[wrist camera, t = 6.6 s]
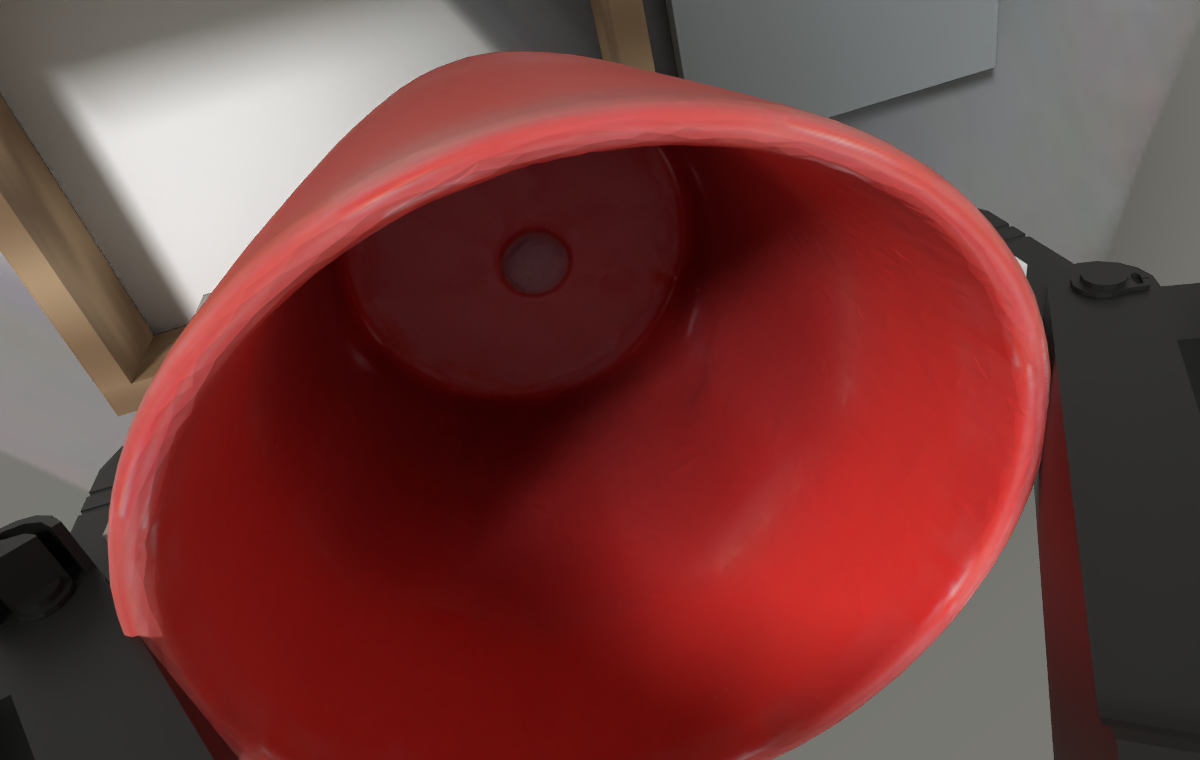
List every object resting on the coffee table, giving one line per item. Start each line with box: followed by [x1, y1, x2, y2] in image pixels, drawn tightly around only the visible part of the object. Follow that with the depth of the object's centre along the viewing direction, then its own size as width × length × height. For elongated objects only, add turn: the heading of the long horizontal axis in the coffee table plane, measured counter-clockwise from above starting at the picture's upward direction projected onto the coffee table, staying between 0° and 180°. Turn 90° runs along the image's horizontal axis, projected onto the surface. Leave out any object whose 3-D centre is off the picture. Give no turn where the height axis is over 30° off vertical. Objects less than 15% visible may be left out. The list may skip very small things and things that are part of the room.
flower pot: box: [108, 51, 1051, 760], centre depth 14 cm, size 11×11×10 cm
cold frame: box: [0, 0, 655, 416], centre depth 30 cm, size 18×24×7 cm
